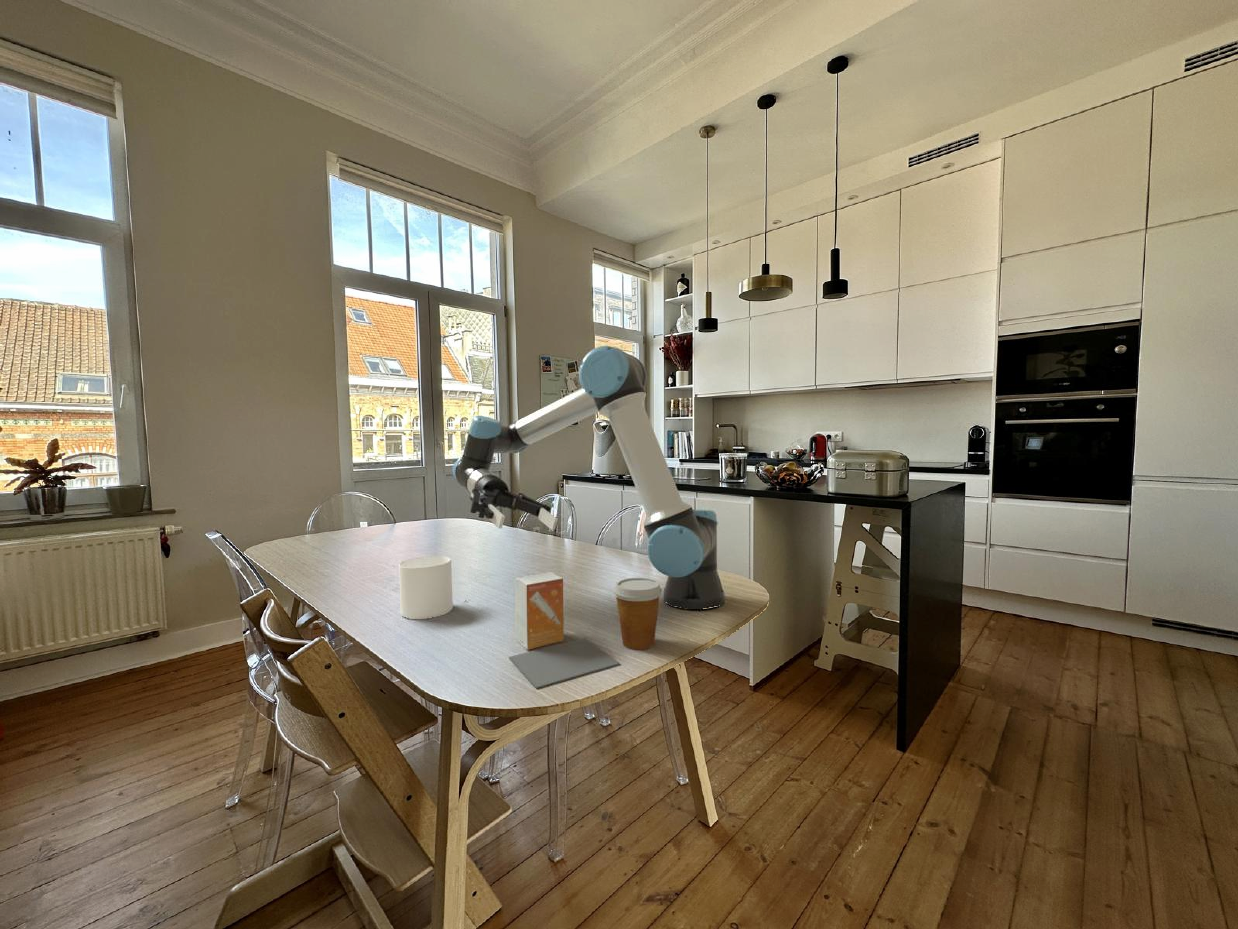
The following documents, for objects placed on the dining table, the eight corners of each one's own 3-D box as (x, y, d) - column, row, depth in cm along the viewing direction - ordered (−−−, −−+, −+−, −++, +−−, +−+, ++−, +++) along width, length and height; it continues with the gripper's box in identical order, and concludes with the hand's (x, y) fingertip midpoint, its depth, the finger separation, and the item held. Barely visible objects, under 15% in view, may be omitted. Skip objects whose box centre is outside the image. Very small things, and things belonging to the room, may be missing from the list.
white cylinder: (431, 600, 126) (429, 554, 126) (463, 607, 120) (461, 559, 120) (390, 614, 116) (388, 564, 115) (422, 623, 110) (420, 570, 110)
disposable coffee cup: (666, 652, 93) (665, 589, 92) (616, 654, 92) (615, 591, 92) (658, 632, 102) (657, 576, 102) (612, 635, 102) (612, 577, 101)
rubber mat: (585, 639, 99) (585, 638, 99) (619, 664, 88) (619, 662, 88) (509, 658, 91) (508, 656, 91) (536, 689, 80) (536, 687, 80)
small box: (527, 651, 94) (525, 584, 94) (515, 640, 100) (513, 577, 99) (565, 641, 99) (563, 577, 98) (551, 631, 104) (550, 571, 103)
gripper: (526, 505, 131) (570, 539, 116) (435, 499, 114) (471, 538, 99) (534, 479, 130) (579, 510, 114) (443, 468, 113) (481, 504, 97)
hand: (529, 523), depth 107 cm, fingers open, 13 cm apart
